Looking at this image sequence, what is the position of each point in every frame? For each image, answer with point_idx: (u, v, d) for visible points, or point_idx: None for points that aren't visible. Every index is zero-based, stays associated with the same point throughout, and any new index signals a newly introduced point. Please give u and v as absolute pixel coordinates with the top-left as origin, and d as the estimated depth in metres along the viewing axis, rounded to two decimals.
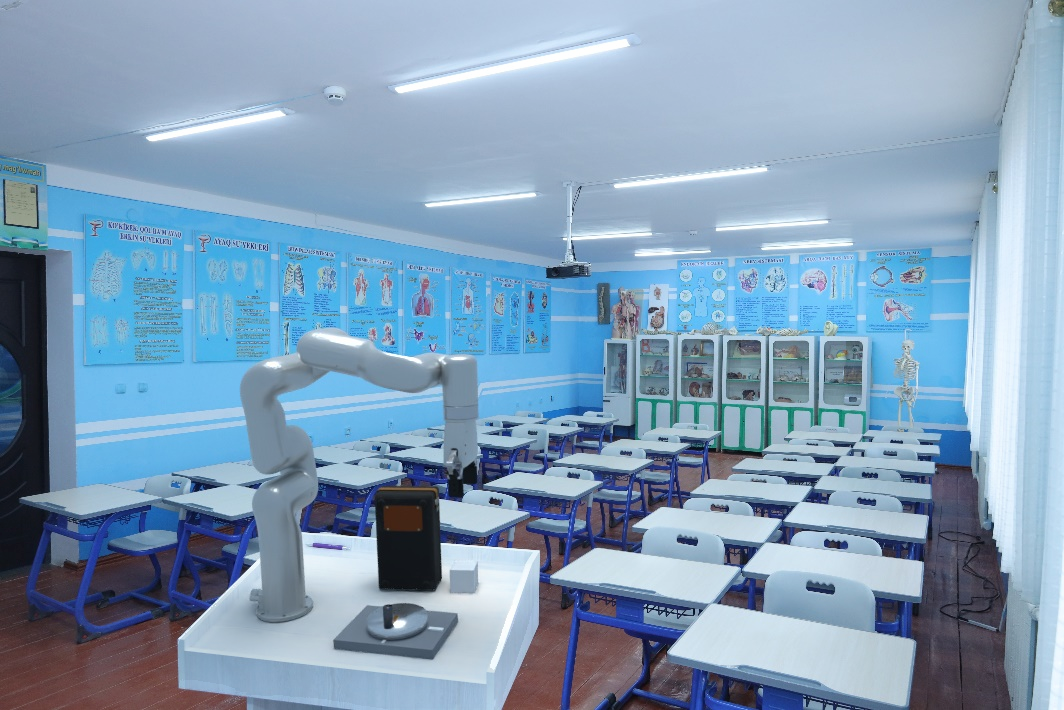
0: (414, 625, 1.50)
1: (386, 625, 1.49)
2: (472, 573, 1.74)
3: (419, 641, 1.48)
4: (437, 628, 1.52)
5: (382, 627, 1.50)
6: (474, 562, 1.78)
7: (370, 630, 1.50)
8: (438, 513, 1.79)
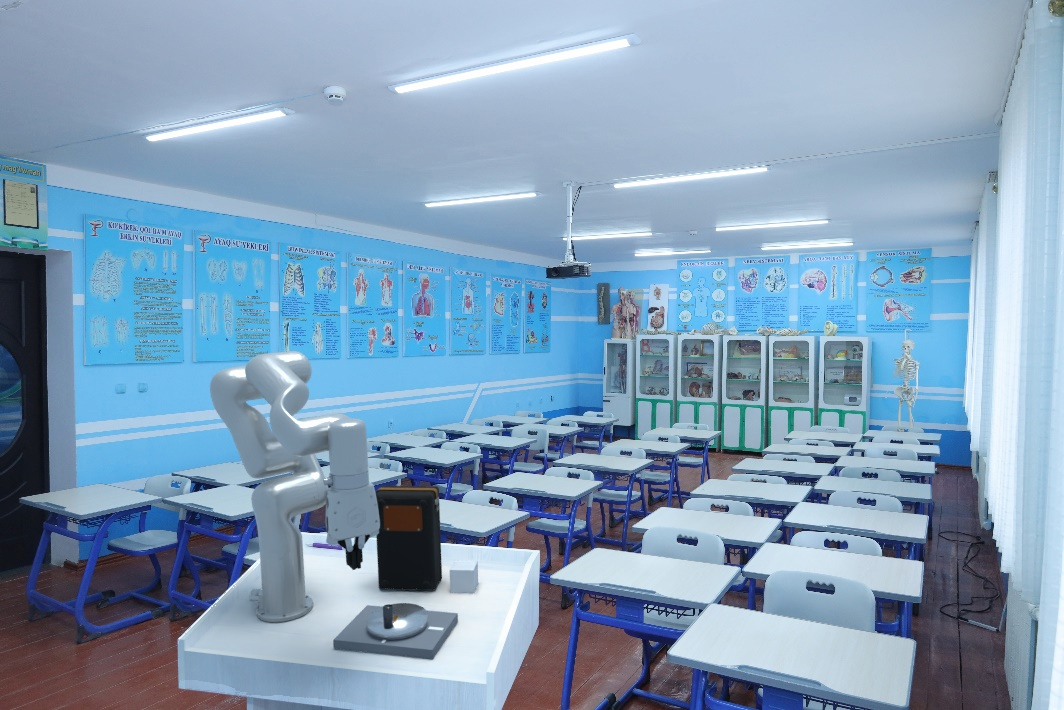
0: (414, 625, 1.50)
1: (386, 625, 1.49)
2: (472, 573, 1.74)
3: (419, 641, 1.48)
4: (437, 628, 1.52)
5: (382, 627, 1.50)
6: (474, 562, 1.78)
7: (370, 630, 1.50)
8: (438, 513, 1.79)
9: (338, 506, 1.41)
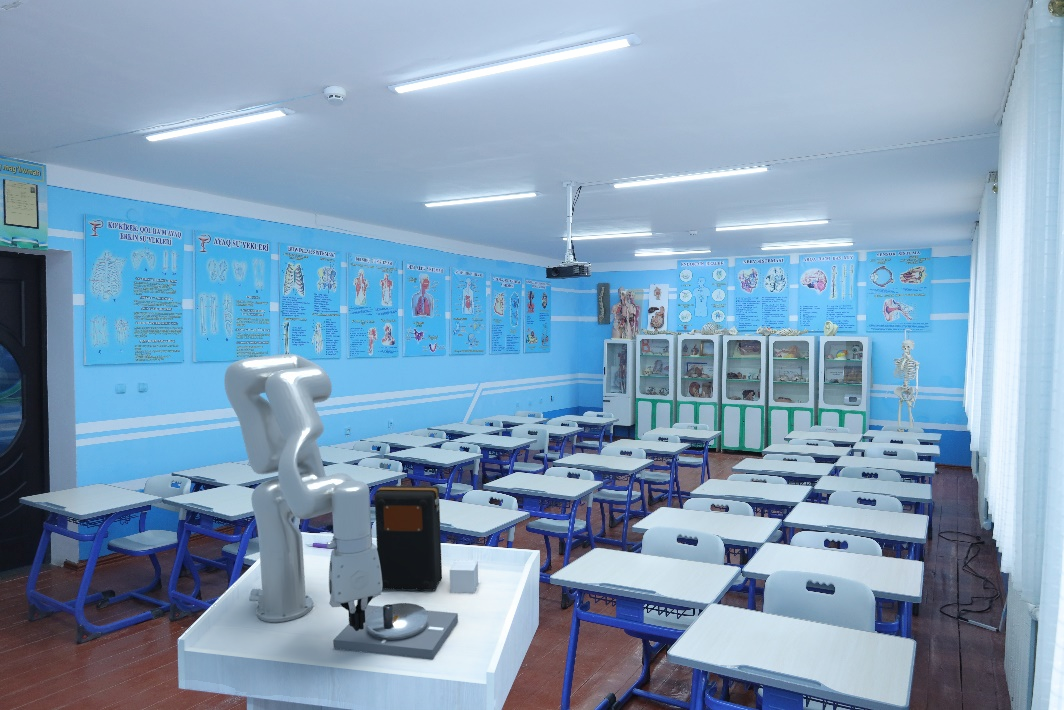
0: (414, 625, 1.50)
1: (386, 625, 1.49)
2: (472, 573, 1.74)
3: (419, 641, 1.48)
4: (437, 628, 1.52)
5: (382, 627, 1.50)
6: (474, 562, 1.78)
7: (370, 630, 1.50)
8: (438, 513, 1.79)
9: (342, 570, 1.42)
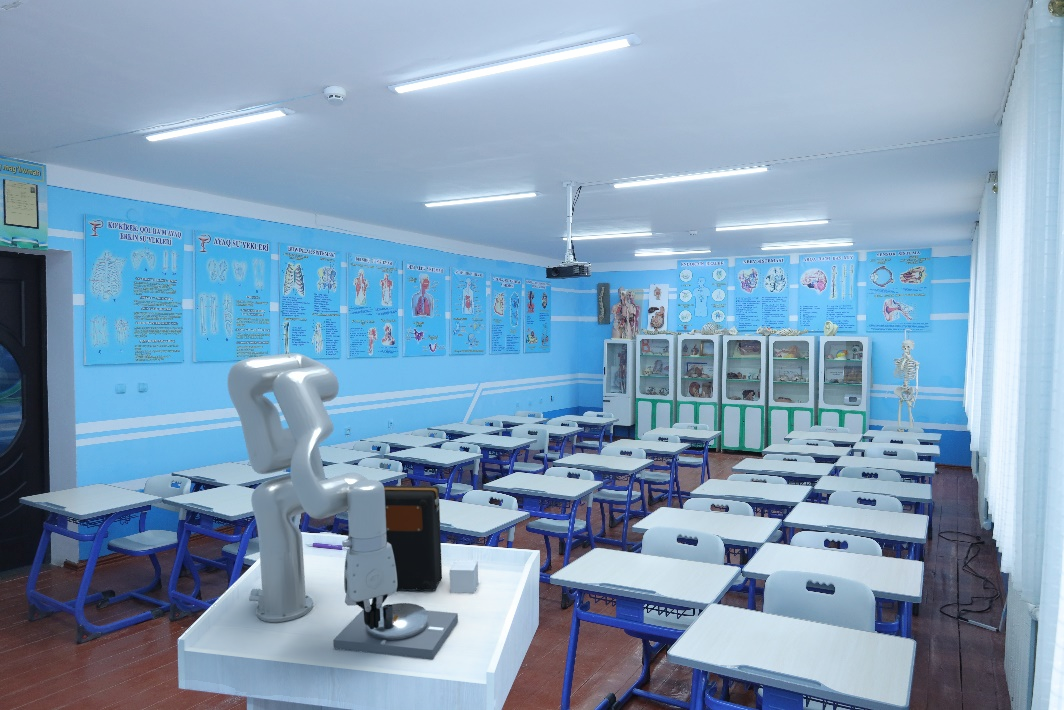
0: (414, 624, 1.50)
1: (386, 625, 1.49)
2: (472, 573, 1.74)
3: (419, 641, 1.48)
4: (437, 628, 1.52)
5: (382, 627, 1.50)
6: (474, 562, 1.78)
7: (370, 630, 1.50)
8: (438, 513, 1.79)
9: (357, 568, 1.43)
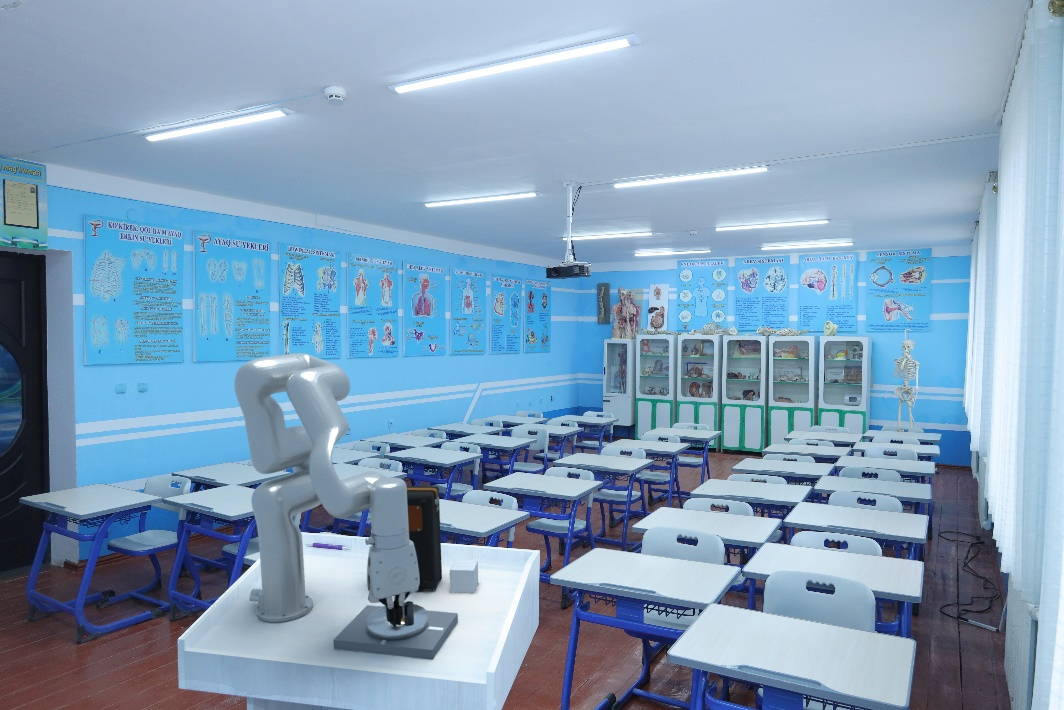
0: (423, 612, 1.56)
1: (411, 621, 1.50)
2: (472, 573, 1.74)
3: (419, 641, 1.48)
4: (437, 628, 1.52)
5: (406, 626, 1.50)
6: (474, 562, 1.78)
7: (397, 635, 1.48)
8: (438, 513, 1.79)
9: (380, 565, 1.43)
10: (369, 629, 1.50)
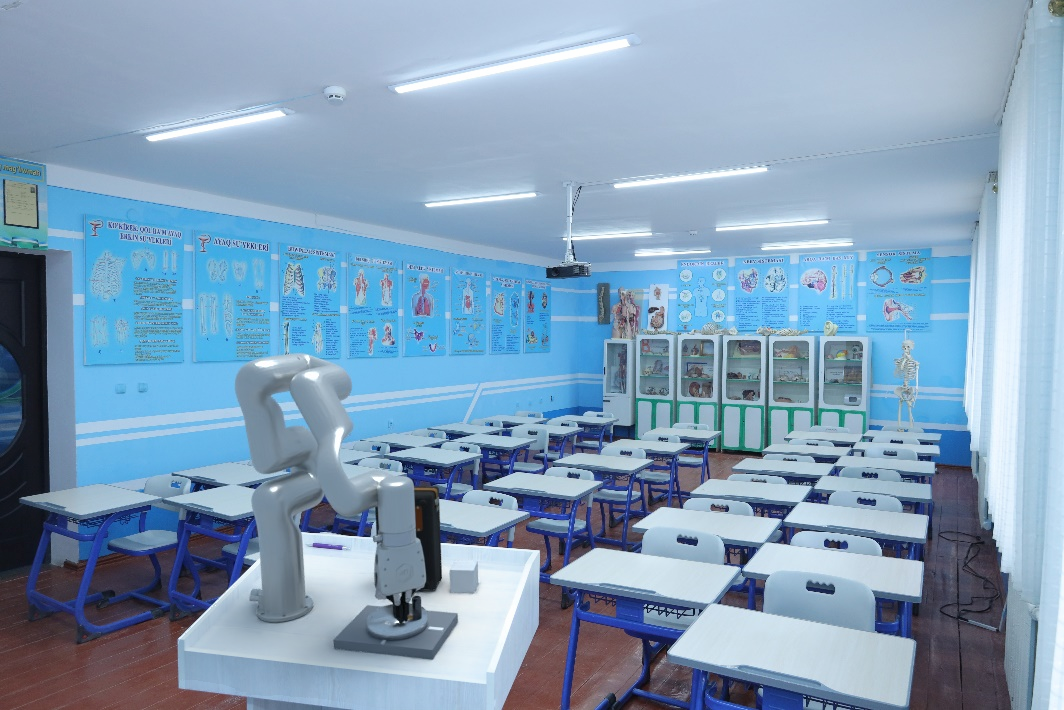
0: None
1: (421, 614, 1.53)
2: (472, 573, 1.74)
3: (419, 641, 1.48)
4: (437, 628, 1.52)
5: (417, 620, 1.52)
6: (474, 562, 1.78)
7: (415, 630, 1.50)
8: (438, 513, 1.79)
9: (388, 563, 1.45)
10: (382, 634, 1.48)
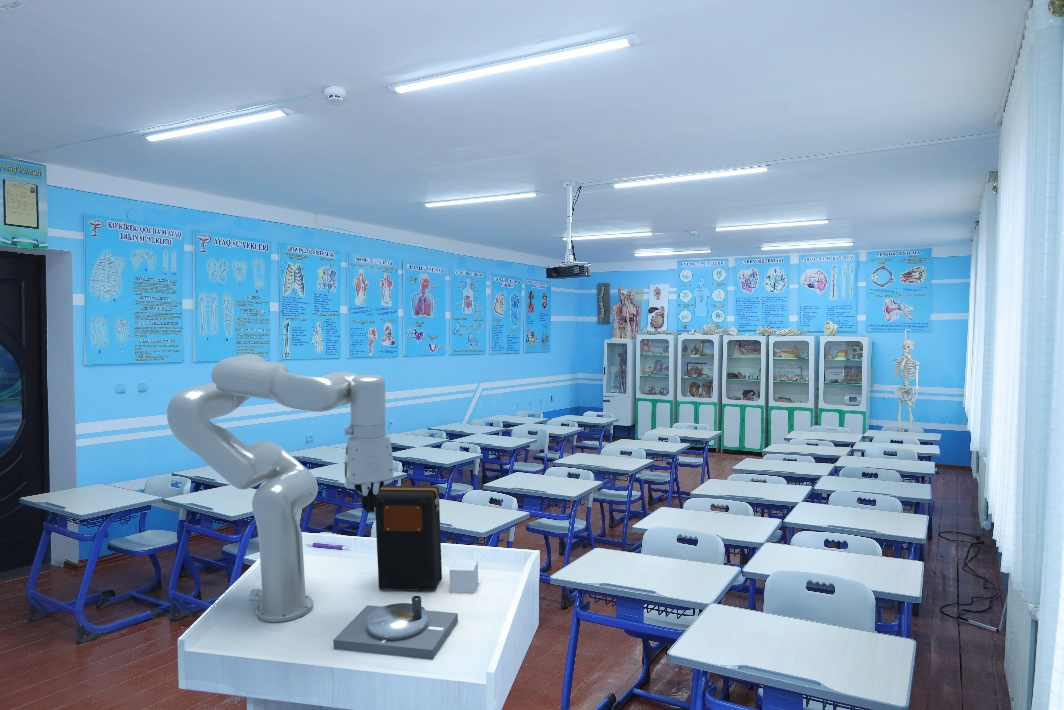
0: None
1: (421, 614, 1.53)
2: (472, 573, 1.74)
3: (419, 641, 1.48)
4: (437, 628, 1.52)
5: (417, 620, 1.52)
6: (474, 562, 1.78)
7: (415, 630, 1.50)
8: (438, 513, 1.79)
9: (357, 453, 1.54)
10: (382, 634, 1.48)
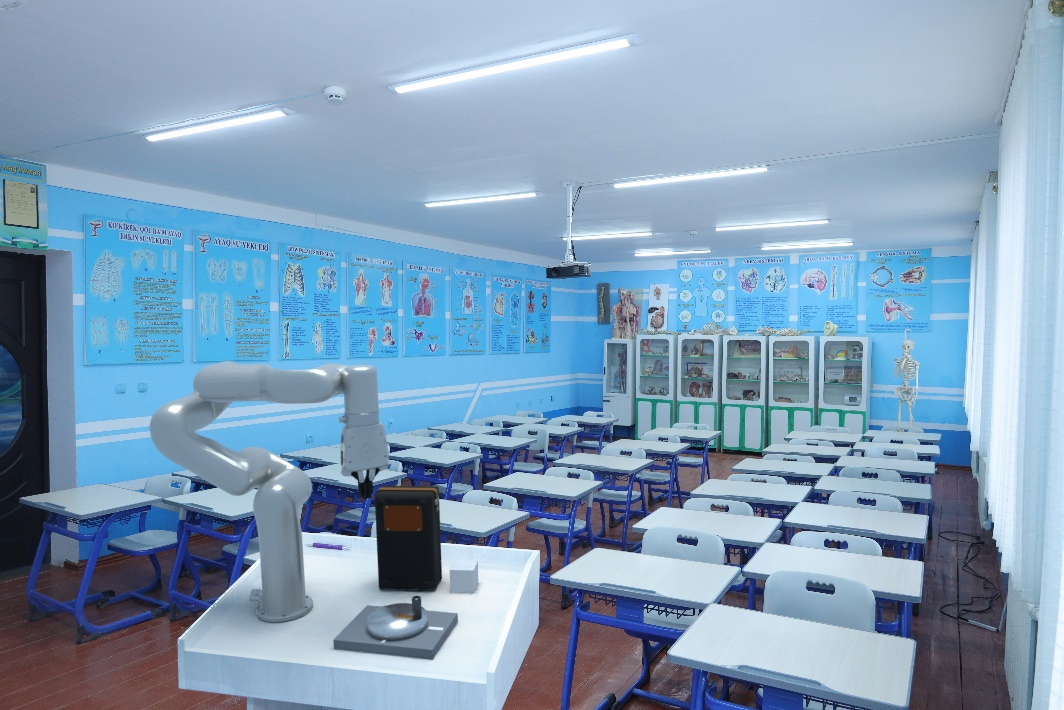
0: None
1: (421, 614, 1.53)
2: (472, 573, 1.74)
3: (419, 641, 1.48)
4: (437, 628, 1.52)
5: (417, 620, 1.52)
6: (474, 562, 1.78)
7: (415, 630, 1.50)
8: (438, 513, 1.79)
9: (352, 441, 1.58)
10: (382, 634, 1.48)
